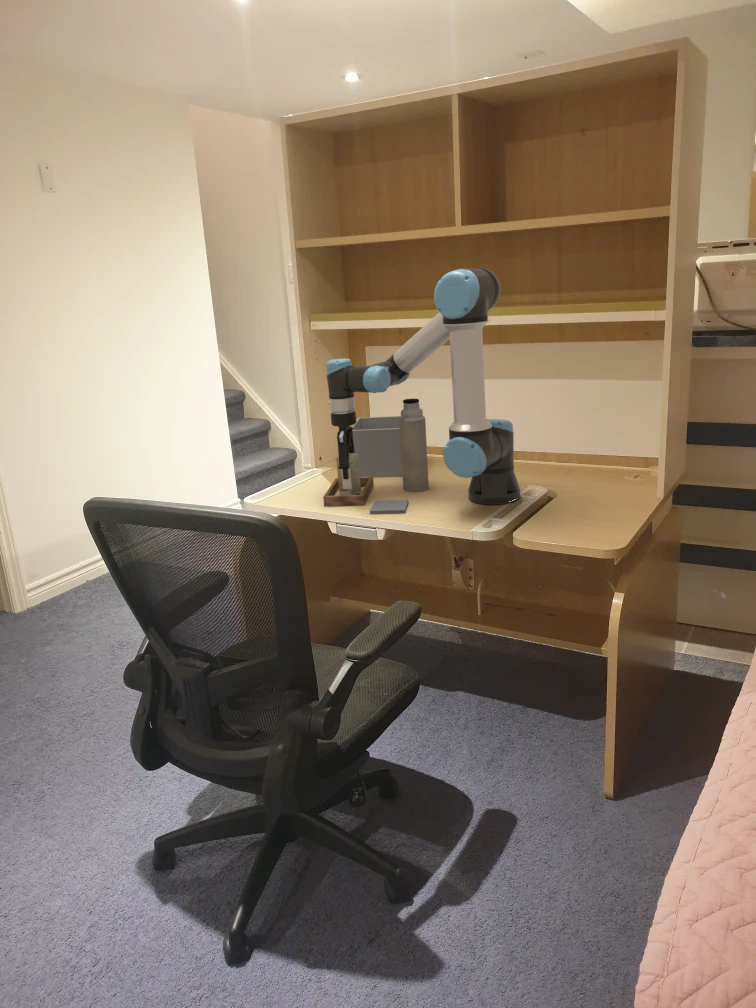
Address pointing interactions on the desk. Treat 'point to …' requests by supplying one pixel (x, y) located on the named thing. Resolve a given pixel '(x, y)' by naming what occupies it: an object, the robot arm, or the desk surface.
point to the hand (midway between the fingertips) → (349, 485)
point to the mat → (389, 506)
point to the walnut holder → (348, 499)
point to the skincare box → (354, 476)
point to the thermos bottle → (413, 447)
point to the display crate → (378, 446)
